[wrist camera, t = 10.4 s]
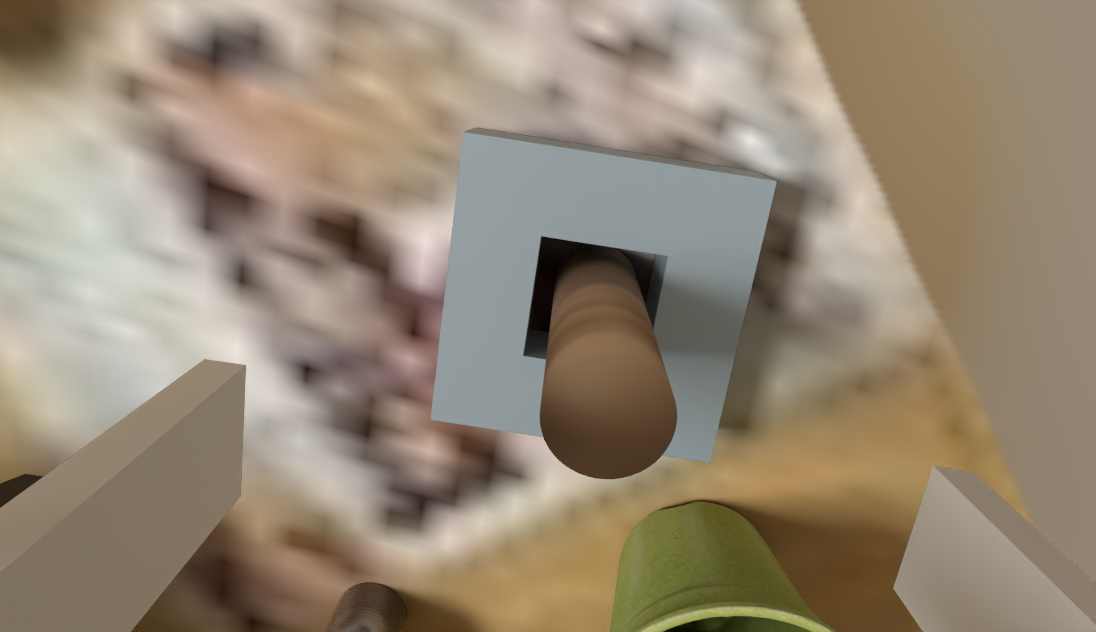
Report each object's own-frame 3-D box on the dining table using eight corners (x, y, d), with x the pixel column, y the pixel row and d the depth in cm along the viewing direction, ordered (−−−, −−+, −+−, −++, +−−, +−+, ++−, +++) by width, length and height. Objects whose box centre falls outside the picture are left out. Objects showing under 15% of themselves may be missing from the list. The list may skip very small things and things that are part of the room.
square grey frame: (445, 387, 29) (430, 419, 26) (476, 127, 26) (463, 131, 23) (696, 426, 29) (709, 462, 26) (755, 171, 26) (776, 180, 23)
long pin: (562, 237, 27) (550, 342, 16) (643, 250, 27) (690, 364, 16) (549, 314, 28) (530, 468, 17) (627, 327, 28) (662, 488, 17)
